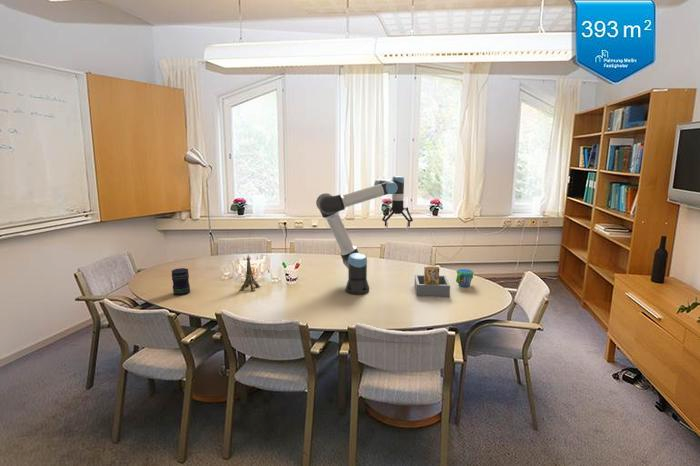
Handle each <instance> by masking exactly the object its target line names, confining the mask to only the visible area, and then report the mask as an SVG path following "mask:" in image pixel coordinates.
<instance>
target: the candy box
mask: <svg viewBox="0 0 700 466" xmlns="http://www.w3.org/2000/svg"><path fill="white" fill-rule="evenodd" d="M423 275H424V284H436V285H439V275H440V266H439V265H424V270H423Z"/></svg>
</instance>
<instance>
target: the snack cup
mask: <svg viewBox="0 0 700 466" xmlns="http://www.w3.org/2000/svg"><path fill="white" fill-rule="evenodd" d="M456 274H457V275H456V279H455V282H456V283H457V284H458V286H460V287H463V288H469V287H470V286H471V284H472V279H473V278H474V270H471V269H467V268H459V269H456Z"/></svg>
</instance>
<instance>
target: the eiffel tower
mask: <svg viewBox="0 0 700 466" xmlns="http://www.w3.org/2000/svg"><path fill="white" fill-rule="evenodd" d="M244 276H245V279H244V283H243V284H242V285H241V286H240V289H239V290H238V292H243V291H245V288H248V287H250V290H249V291H250V293H255V292H256V289H260V288H261V287H262V286H261V285H260V284H259V283H258V282H257V281H256V279H255V278H254V273H253V272H252V266H251V257H250V256H249V255H247V257H246V272H245V275H244ZM254 286H255V287H254Z"/></svg>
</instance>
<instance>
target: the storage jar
mask: <svg viewBox="0 0 700 466" xmlns="http://www.w3.org/2000/svg"><path fill="white" fill-rule="evenodd" d="M189 279H190V274H189V268H185V267H184V268H183V267H182V268H175V269H172V270H171V280H172V292H173V296H175V297H181V296H187V295H189V294H190V293H191V291H190V289H191V286H190V283H189V282H190V280H189Z"/></svg>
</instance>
